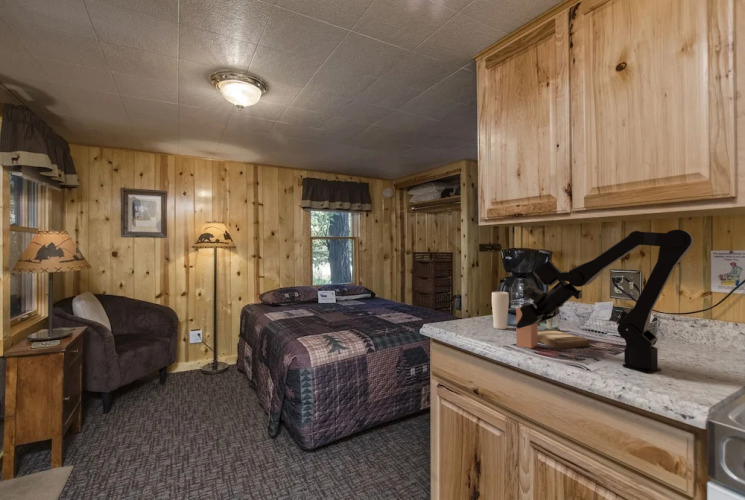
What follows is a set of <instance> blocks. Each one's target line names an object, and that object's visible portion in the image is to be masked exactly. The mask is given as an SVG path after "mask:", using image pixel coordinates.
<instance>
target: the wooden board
mask: <svg viewBox="0 0 745 500" xmlns="http://www.w3.org/2000/svg"><path fill="white" fill-rule="evenodd" d="M538 343H541V344H545V345H546V346H550V347H552V348H556V349H568V348H579V347H589V346H590V339H588V338H585V337H580V336H578V335H573V334H570V333H568V332H567V333H566V332H562V331H561V330H546V329H545V330H538Z"/></svg>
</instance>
